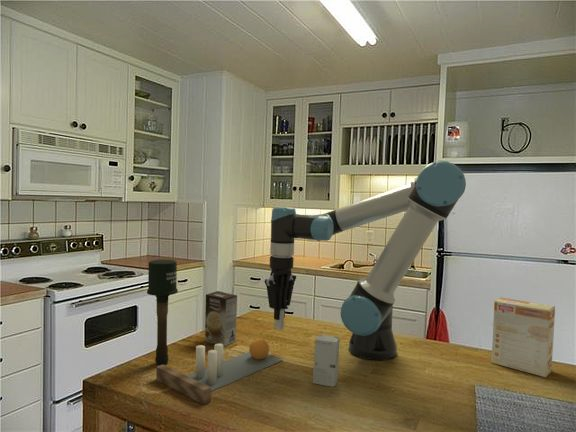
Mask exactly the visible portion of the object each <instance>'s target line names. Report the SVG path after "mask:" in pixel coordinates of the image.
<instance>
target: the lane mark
mask: <svg viewBox="0 0 576 432" xmlns="http://www.w3.org/2000/svg"><path fill="white" fill-rule="evenodd" d="M282 361H283V359H281V358H278V357H275V356H272V355H270V354H268V355H267V356H266V357H265V358H264V359H261V360H257V359H254V358H253V357H252V356H251V355H250V352H249V351H247V352H245V353H242V354H239V355H238V356H234V357H231V358H229V359H227V360H223V375H222V376H219V377H217V383H216V384H212V385H211V384H208V366H207V367H205V377H204V378H202V379H197V378H196V371H195V372H191V373H188V374H186V376H188V377H190V378H192V379H194V380H196V381H198V382H200V383H202V384H204V385H206V386H209V387H211V392H214V391H216V390H218V389H221V388H223V387H225V386H227V385H229V384H232V383H235V382H237V381H239V380H241V379H243V378H246V377H249V376H250V375H253V374H255V373H257V372H260V371H262V370H265V369H267V368H269V367H271V366H274V365H275V364H279V363H281V362H282Z"/></svg>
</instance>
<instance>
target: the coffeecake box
mask: <svg viewBox="0 0 576 432" xmlns="http://www.w3.org/2000/svg"><path fill="white" fill-rule="evenodd" d="M555 314H556V305H555V306H554V305H549V304H542V303H538V302H537V303H536V302H531V301H525V300H519V299H513V298H508V297H507V298H506V297H500V298H498V299H495V300H494V303H493V323H492V324H493V325H492V346H491V364H495V365H499V366H502V367H506V368H510V369H514V370H517V371H521V372H525V373H529V374H532V375H536V376H539V377H543V378H547V377H548V376H549V375H550V374H551V372H552V370H553V369H552V367H553V355H554V354H553V352H554V333H555V316H556V315H555Z"/></svg>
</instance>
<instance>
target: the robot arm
mask: <svg viewBox="0 0 576 432" xmlns="http://www.w3.org/2000/svg"><path fill="white" fill-rule="evenodd" d="M466 181H467V180H466V177H465V174H464V172H463V171H462V169H461V168H460V167H459V166H457V165H456V164H454V163H453V162H450V161H448V160H447V161H445V160H438V161H433V162H431V163H429V164H427V165H426V166H424V168H422V169H421V170H420V171H419V173H418V175H417V177H416V178H412V180H411V182H410V183H408V184H405V185H402V186H400V187H397V188H394V189H391V190H389V191H386V192H382V193H378V194H377V195H374V196H371V197H367V198H365V199H363V200H360V201H357V202H354V203H351V204H348V205H346V206H343V207H340V208H336V209H334V210H332V211H328V212H324V213H322V214H320V213H319V214H298V213H297V212H296V208H295V207H291V206H290V207H289V206H275V207H273V208H272V210H271V219H270V225H271V226H270V249H269V254H270V257H269V268H270V269H271V272H270V277H269V278H268V279H264V283H265V287H266V293H267V298H268V299H267V300H268V306H269V307H268V308H270V309H273V319H274V321H273V322H274V325H273V326H274V327H273V329H275V330H278V331H283V330H284V329H285V328H284V325H285V317H286V315H285V314H286V310H288V309H289V306H291V303H292V302H291V301H292V296H293V290H294V286H295V281H296V279H297V275H294V274H293V273H292V269H294V259H295V258H294V257H293V256H294V254H295V239H298V240H299V239H301V240H311V241H317V242H321V241H323V242H326V241H330V240H331V238H332V237H333V236H334V235H337V234H340V233H342V232H346V231H348V230H351V229H354V228H357V227H361V226H364V225H367V224H370V223H372V222H376V221H379V220H382V219H385V218H388V217H391V216H394V215H397V214H400V213H404V212H405V213H404V215H403V216H402V218H401V220H400V221H399V222H398V225H397V226H396V227H395V230H394V231H393V233H392V235H391V236H390V238H389V240H388V241H387V243H386V245H385V246H384V248H383V250H382V251H381V253H380V255H379V256H378V259H376V261H375V263H374V265H373V266H372V267H371V270H370V271H369V273H368V275H367V277H363V278H360V279H359V280H357V281H356V285H355V287H354V288H353V290H352V291H351V293H350V295H349V297H347V298H345V300H344V301H343V303H342V305H341V306H340V311H339V312H340V318H341V322H342V324H343V326H344V327H345V328H346V329H347V330H348V331H349V332H351V337H350V339H349V342H348V350H349V352H350V353H351V354H352V355H354V356H356V357H359V358H363V359H367V360H373V361H374V360H375V361H376V360H378V361H382V360H383V361H384V360H389V359H390V360H391V359H392V358H394V357H396V356H397V349H398V347H397V346H398V345H397V343H396V339H395V336H394V333H393V310H394V307H393V305H394V304H395V302H396V299H395V295H394V294H395V291H396V290H397V288H398V286H399V285H400V283H401V282H402V280H403V278H404V277H405V275H406V273H408V270H409V269H410V267H411V265H412V264H413V262H414V261H415V259H416V258H417V256H418V254H419V253H420V251H421V250H422V247H424V245H425V243H426V242H427V240H428V238H429V237H430V235H431V233H432V232H433V230H434V228H435V227H436V225H437V224H438V222H441V221H443V220H445V221H446V220H447V218H448V217H449V215H450V213H451V212H452V211H453V209H454V208H455V206H456V204H457V202H458V201H459V199H460V198H461V197H462V195H464V193H465V190H466V185H467V183H466Z"/></svg>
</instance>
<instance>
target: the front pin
mask: <svg viewBox="0 0 576 432" xmlns="http://www.w3.org/2000/svg"><path fill="white" fill-rule="evenodd" d="M213 350H216V351H217V377H219V376H222V375H223V361H224V346H223V344H214V349H213Z"/></svg>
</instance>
